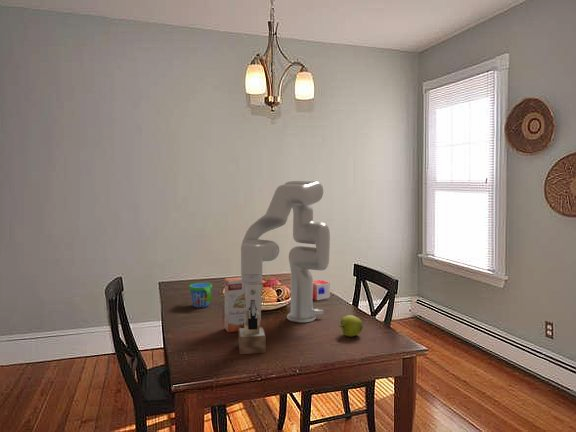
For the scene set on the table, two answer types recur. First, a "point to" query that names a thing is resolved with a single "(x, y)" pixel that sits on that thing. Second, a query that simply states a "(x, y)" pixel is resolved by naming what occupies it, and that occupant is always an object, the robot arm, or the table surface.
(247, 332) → the beech block
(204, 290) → the snack cup
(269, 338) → the table surface
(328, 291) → the red and white cube
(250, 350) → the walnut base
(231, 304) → the cracker box
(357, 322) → the apple
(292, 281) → the robot arm
